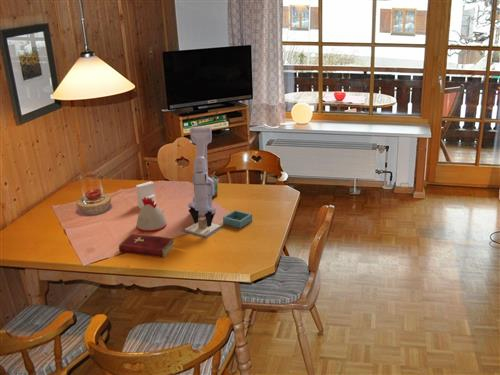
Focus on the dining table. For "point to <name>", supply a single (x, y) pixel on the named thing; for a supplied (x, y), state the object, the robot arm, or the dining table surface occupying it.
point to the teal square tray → (237, 219)
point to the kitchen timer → (150, 217)
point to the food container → (215, 185)
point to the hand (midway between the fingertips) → (202, 224)
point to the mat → (201, 235)
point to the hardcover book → (146, 245)
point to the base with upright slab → (145, 193)
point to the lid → (202, 227)
